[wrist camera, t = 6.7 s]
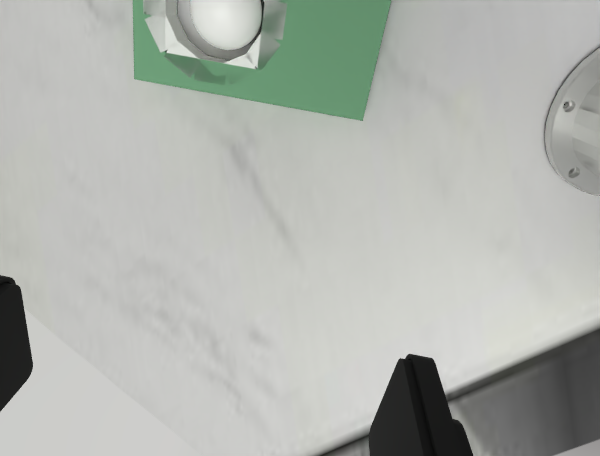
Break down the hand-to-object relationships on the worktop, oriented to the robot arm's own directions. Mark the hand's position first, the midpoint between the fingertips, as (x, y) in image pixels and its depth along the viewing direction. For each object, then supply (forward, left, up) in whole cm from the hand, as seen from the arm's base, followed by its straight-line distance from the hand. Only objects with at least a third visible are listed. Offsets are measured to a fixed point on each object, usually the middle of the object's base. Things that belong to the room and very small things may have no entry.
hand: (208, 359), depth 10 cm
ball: (+5, -7, -23) cm, 25 cm away
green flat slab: (+2, -7, -26) cm, 27 cm away
